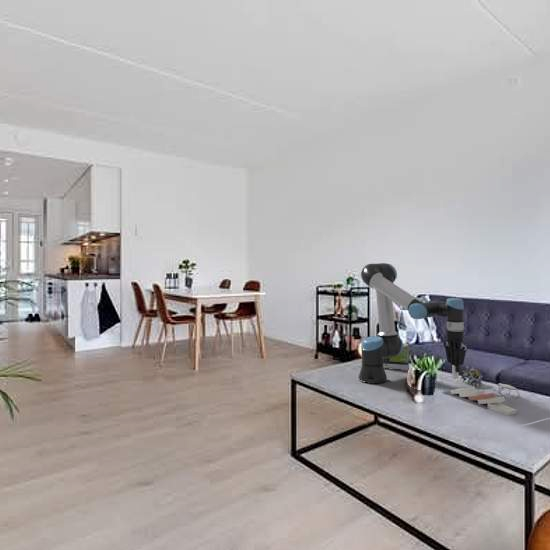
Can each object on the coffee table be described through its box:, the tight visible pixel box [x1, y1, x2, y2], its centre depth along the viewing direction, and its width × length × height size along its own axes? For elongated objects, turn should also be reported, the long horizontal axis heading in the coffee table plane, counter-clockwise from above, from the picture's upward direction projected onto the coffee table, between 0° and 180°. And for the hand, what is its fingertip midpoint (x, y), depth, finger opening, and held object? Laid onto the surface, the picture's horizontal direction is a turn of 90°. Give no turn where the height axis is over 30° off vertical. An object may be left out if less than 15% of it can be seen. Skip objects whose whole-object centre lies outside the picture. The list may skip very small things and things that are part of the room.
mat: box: [441, 390, 490, 410], centre depth 188 cm, size 25×10×1 cm, turn 24°
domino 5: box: [488, 402, 518, 416], centre depth 173 cm, size 2×5×10 cm
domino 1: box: [449, 386, 476, 394], centre depth 192 cm, size 2×5×10 cm
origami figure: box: [496, 382, 521, 399], centre depth 191 cm, size 12×8×5 cm
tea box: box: [383, 343, 410, 371], centre depth 246 cm, size 15×10×15 cm, turn 66°
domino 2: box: [459, 389, 485, 397], centre depth 188 cm, size 2×5×10 cm
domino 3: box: [468, 392, 495, 401], centre depth 183 cm, size 2×5×10 cm
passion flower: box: [460, 365, 483, 388], centre depth 211 cm, size 11×11×12 cm
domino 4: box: [478, 396, 506, 404], centre depth 178 cm, size 2×5×10 cm
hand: (455, 378), depth 196 cm, fingers closed
